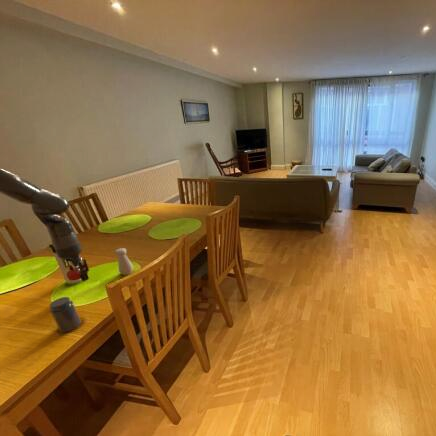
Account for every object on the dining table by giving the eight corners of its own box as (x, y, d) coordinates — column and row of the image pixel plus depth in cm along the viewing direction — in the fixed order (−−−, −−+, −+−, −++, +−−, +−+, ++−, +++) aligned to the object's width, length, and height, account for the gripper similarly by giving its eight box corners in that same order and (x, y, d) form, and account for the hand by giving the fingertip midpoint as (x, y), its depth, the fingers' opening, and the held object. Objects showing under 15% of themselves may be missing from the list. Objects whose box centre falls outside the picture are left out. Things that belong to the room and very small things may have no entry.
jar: (69, 333, 84) (57, 309, 79) (55, 331, 84) (42, 307, 80) (85, 320, 89) (75, 296, 85) (71, 318, 90) (60, 295, 86)
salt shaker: (137, 270, 119) (130, 247, 114) (127, 277, 114) (119, 253, 109) (127, 268, 120) (120, 245, 115) (117, 275, 115) (109, 251, 110)
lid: (76, 271, 104) (74, 267, 103) (91, 271, 104) (89, 266, 104) (64, 280, 98) (62, 276, 97) (80, 280, 99) (78, 275, 98)
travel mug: (65, 280, 111) (48, 242, 103) (83, 275, 115) (68, 238, 108) (66, 287, 107) (48, 248, 99) (84, 281, 111) (69, 242, 103)
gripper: (87, 243, 96) (100, 277, 103) (67, 236, 102) (81, 269, 108) (65, 251, 90) (80, 287, 97) (45, 244, 96) (61, 279, 102)
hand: (80, 278), depth 102 cm, fingers closed on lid, 6 cm apart
